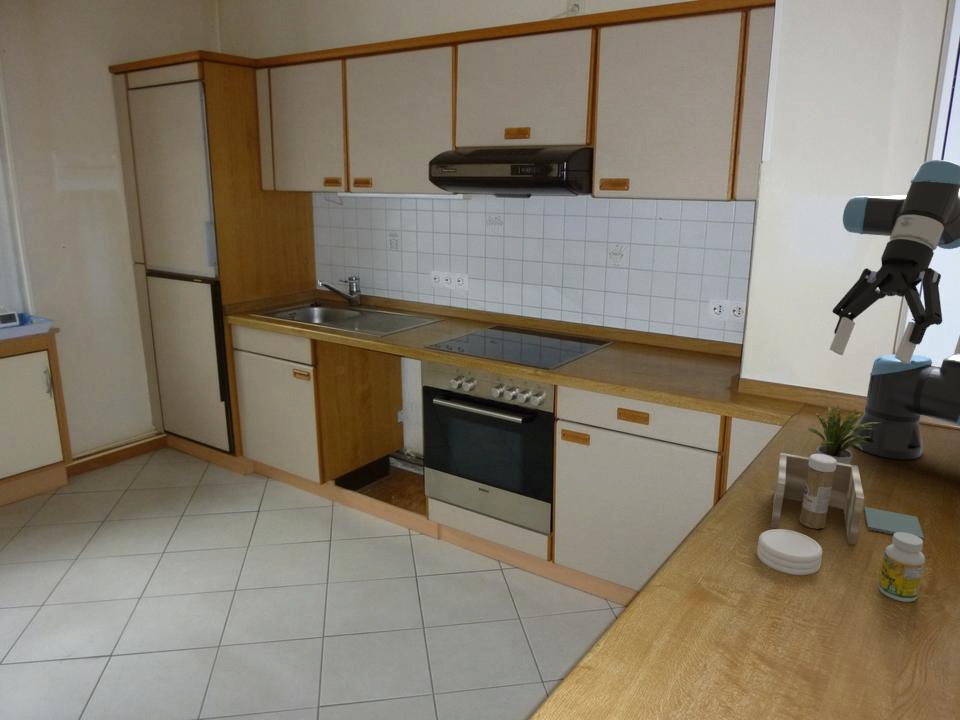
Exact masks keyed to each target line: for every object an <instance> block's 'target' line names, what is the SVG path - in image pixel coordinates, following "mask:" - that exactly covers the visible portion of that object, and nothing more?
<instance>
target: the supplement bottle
mask: <svg viewBox="0 0 960 720" xmlns="http://www.w3.org/2000/svg"><path fill="white" fill-rule="evenodd" d="M891 542H892V543H891V544H889V545H887V546H886V548H885V549H884V555H883V561H882V566H881V572H880V576H879V577H880V578H879V582H878V589H879V590H880V592H881V593H882V594H884V595H885V596H886V597H888V598H890V599H892V600H895V601H899V602H904V603H910V602H914V601H916V599H918V595H919V591H920V587H921V582H922V577H923V573H924V569H925V562H926V558H925V557H926V556H925V555H924V554H923V552H922V550H923V546H924V541H922V539H921V538H919V537H917V536H915V535H913V534H910V533H905V532H896V533H894V535H892V540H891Z"/></svg>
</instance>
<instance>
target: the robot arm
mask: <svg viewBox="0 0 960 720" xmlns="http://www.w3.org/2000/svg"><path fill="white" fill-rule="evenodd" d="M842 224H843V227H844V229H845V230H846V231H847V232H848V233H853V234H859V235H871V236H872V235H873V236H883V237H884V236H886V237H889V241H888V242H887V243H886V245H885V247H884V250H883V253H882V255H881V258H880V260H881V267H880V268H879V269H878V271H874V270H871V269H869V268H867V267H866V268H864V269H863V270H862V273H861V274H860V276H859V278H858V280H857V281H856V282H855V283H854V284H853V286H851V288H849V290H848V291H847V293H845V295H844V296H843V297H842V298H841V299H840V301H838V303H837V304H836V305H835V306H834V308H833V309H832V311H831V312H832V313H833V314H834V315H836V316H837V317H838V321H837V323H836V326H835V329H834V332H833V333H834V334H835V335H834V337H833V340H832V341H831V344H830V346H829V347H830V348H829V351H832V352H834V353H836V354H837V355H839V356H843V355H844V353H845V350H846V347H847V345H848V343H849V341H850V337H851V335H852V333H853V330H854V327H855V325H856V322H855V321H854V319H856V318H858V316H860V315H861V314H862V313H863V312H865V311H866V310H867V309H868V308H869V307H871V306H872V305H873V304H874V303H876V302H877V301H878V300H881V299H883V298H885V297H886V296H887V297H894V296H897V297H901V298H902V297H904V300H905V301H906V304H907V305H908V308H909V310H910V313H911V316H912V319H911V320H912V321H908V323H907V325H906V328H905V331H904V333H903V336H902V338H901V340H900V343H899V345H898V349H897V350H896V353H894V354H884V355H880V356H878V357H877V358H875V360H874V361H873V364H872V368H871V371H870V373H869V382H868V388H867V394H866V399H865V407H864V410H863V411H864V412H863V414H862V415H861V416H860V419H859V420H858V422H857V424H856V425H857V426H859V425H862V424H864V423H870V422H880V423H872V424H867V425H869V426H868V427H864V428H872V429H864V430H858V431H857V432H856V433H854V434H853V435H859V436H861V437H865V436H867V437H866V438H864V439H863V440H865V441H866V442H856V443H858V444H860V445H861V446H862V449H863V451H862V449H861V448H860V447H858V446H856V445H853V447H855V448H857V450H861V451H862V452H866V453H869V454H871V455H876V456H878V457H883V458H887V459H894V460H914V459H917V458H920V457H921V456H922V453H923V447H924V444H923V438H922V432H921V427H920V420H921V416H922V417H927V418H930V419H934V420H937V421H942V422H945V423H946V422H947V423H950V424H953V425H957V426H959V427H960V335H959V337H958V340H957V343H956V345H955V348H954V351H953V354H951V355H949V356H947V357H945V358H944V359H943V360H942V363H941V365H940V367H939V366H935V365H932V364H933V361H932V359H931V358H930V357H927V356H925V355H917V354H914V352H915V350H916V347H917V345H921V343H922V342H923V338H924V336H925V333H926V331H927V329H928V328H929V327H930V326H932V325H937V326H939V325H940V324H942V323H943V315H942V305H941V297H940V290H939V289H940V288H939V285H940V281H941V278H942V275H941V273H939V272H938V271H936V270H935V269H933V268H931V267H930V264H931V262H932V259H933V257H934V256H935V255H934V251H935V250H936V249H937V247H938V248H940V249H942V250H943V249H944V250H945V249H946V250H952V249H957V248H960V165H959V164H958V163H955V162H954V161H950V160H943V159H932V160H927V161H925V162H922V163H921V164H920V165H919V166H918V168H917V169H916V172H915V174H914V175H913V177H912V179H911V181H910V185H909V187H908V190H907V193H906V194H905V195H904V194H903V195H889V196H888V195H887V196H875V195H874V196H870V195H856V196H853V197H851V198H850V199H849V200H848V201H847V203H846V205H845V206H844V209H843V214H842ZM921 283H922V292H923V302H924V305H923V302H922V300H921V297H920V296H921V294H920V292H919V290H918V288H917V286H918V285H919V284H921ZM856 425H855V427H857V426H856ZM864 426H866V425H864ZM871 426H873V427H871ZM859 428H860V427H859ZM858 438H860V437H853V438H850V440H853V439H858Z"/></svg>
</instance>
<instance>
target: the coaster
mask: <svg viewBox="0 0 960 720" xmlns="http://www.w3.org/2000/svg"><path fill="white" fill-rule="evenodd" d="M823 553H824V552H823V548H822V546H821V545H820V543H818V542H817V541H816V540H815V539H813V538H812V537H810V536H808V535H806V534H803V533H801V532H798V531H795V530H789V529H782V528H781V529H780V528H778V529H777V528H772V529H769V530H765V531H763V532H761V534H759V536H758V542H757V549H756V554H757V557H758V559H759V560H760V561H761V562H762V563H763V564H764V565H766V566H767V567H769V568H770V569H773V570H775V571H777V572H781V573H782V574H783V573H784V574H789V575H793V576H808V575H811V574H812V575H813V574H815V573H817V572H818V571H819V570H820V568H821V562H822V556H823Z"/></svg>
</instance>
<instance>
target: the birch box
mask: <svg viewBox="0 0 960 720" xmlns="http://www.w3.org/2000/svg"><path fill="white" fill-rule="evenodd" d="M809 458H810V457H806V456H802V455H796V454H789V453H784V452H780V453H779V460H778V465H777V466H778V467H777V473H776V479H775V486H774V492H773V503H772V514H771V528H772V527H773V528H772V529H777V528H778V529H779V528H780V527H779V525H780V520H781V519H780V518H781V513H782V507H783V500H784V499H787V500H788V499H789V500H794V501H799V502H803V498H804V492H805V487H806V483H807V477H808V471H809V465H808V464H809ZM864 502H865V496H864V490H863V487H862V481H861V476H860V471H859V466H858V465H856V464H855V465H854V464H844V463H838V462H837V464H836V470H835V471H834V475H833V481H832V489H831V495H830V500H829V506H831V507H830V508H835V507H837V508H836V509H840V508H843V509H842V510H843V515H844V514H845V516H844V522H846V524H845V530H846V529H847V531H846V537H848V539H847V544H849V543H851V544H850V545H854V546H855V545H856V544H857V540H858V533H859V528H860V524H861V519H862V512H863V509H864ZM829 506H828V507H829Z"/></svg>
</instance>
